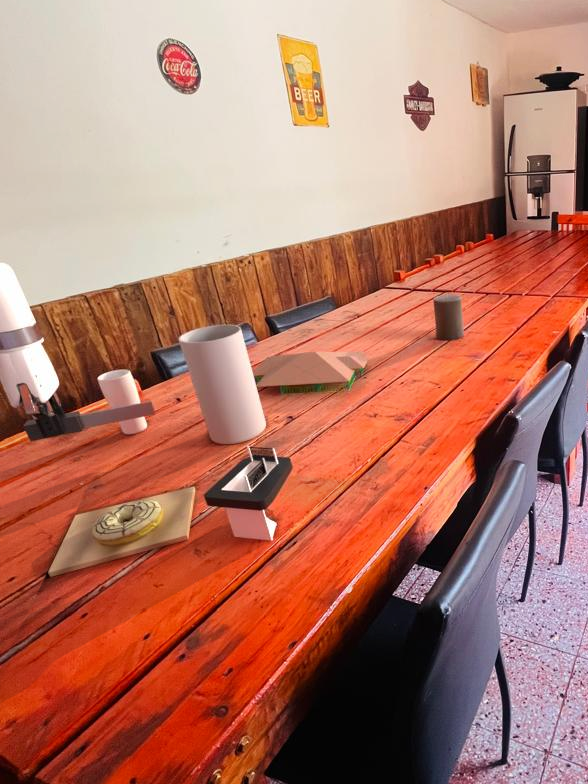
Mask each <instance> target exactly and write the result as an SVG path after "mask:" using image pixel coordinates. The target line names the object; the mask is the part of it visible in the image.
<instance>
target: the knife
mask: <svg viewBox="0 0 588 784" xmlns="http://www.w3.org/2000/svg"><path fill="white" fill-rule="evenodd" d="M156 414H157V413H156V410H155V407H154V405H153V402H152V400H149V401H143V402H141V403H138V404H133V405H128V406H123V407H117V408H112V409H111V408H109V409H108V408H107V409H102V410H96V411H93V412H87V413H82V414H81V412H80V411H79V410H77V411H72V412H67V413H65V414H61V415H58V417H59V419H60V422H61V424H62V426H63V428H64V430H65V433H64V434H63V435H62V436H64V435H71V434H74V433H80V432H83V430H84V429H90V428H93V427H99V426H104V425H109V424H115V423H118V422H120V421H125V420H130V419H135V418H140V417H145V418H146V417H148V416H154V415H156ZM22 427H23V430H24V431H25V433H26V436H27V437H28V440H29V441H30V442H36V441H40V440H44V439H45V440H46V438H44V437H43V435H42V433H41V431H40V429H39V427H38V425H37V423H36V421H35V420H34V419H29V420H26V422H25V423H24V424H23V426H22ZM60 436H61V435H58V436H57V437H60ZM55 437H56V436H53V437H52V438H55ZM50 438H51V437H48V438H47V439H50Z"/></svg>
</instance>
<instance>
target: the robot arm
mask: <svg viewBox="0 0 588 784" xmlns="http://www.w3.org/2000/svg"><path fill="white" fill-rule="evenodd" d="M44 341H45V339H44V337H43V335H42V332H41V330H40V327H39V326H38V324H37V322H36V319H35V317H34V314H33V312H32V310H31V308H30V305H29V303H28V301H27V299H26V296H25V294H24V291H23V289H22V287H21V284H20V282H19V280H18V277H17V276H16V273H15V272H14V270H13V268H12V267H11V266H10V265H9V264H7V263H5V262H1V261H0V383H1V385H2V387H3V390H4V392H5V394H6V397H7V399H8V401H9V403H10V405H11V407H12V408H15V409H18V408H21V406H23V407H24V411H25V413H26V414H27V415H28V416H32V420H35V421H36V423H37V425H38V427H39V429H40V431H41V433H42V435H43V437H44V438H45V439H49V438H48V437H50V438H54V437H53V436H55V437H59V436H58V435H60V436H64V435H63V434H64V433H65V430H64V428H63V426H62V424H61V422H60V419H59V417H58V415H61V414H66V413H65V411H64V409H63V407H62V404H61V400H60V399H59V397H58V393H57V390H58V388H59V387H60V381H59V377H58V374H57V373H56V370H55V368H54V366H53V364H52V361H51V359H50V357H49V356H48V354H47V352H46V350H45V348H44V346H43V345H42V343H43V342H44Z"/></svg>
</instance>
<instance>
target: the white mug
mask: <svg viewBox="0 0 588 784" xmlns="http://www.w3.org/2000/svg"><path fill="white" fill-rule="evenodd" d="M96 379H97V382H98V385H99V388H100V390H101V393H102V395H103V397H104V399H105V401H106V403H107V405H108V407H109V409H112V408H117V407H123V406H128V405H133V404H138V403H142V402H141V398H140V394H139V391H138V388H137V385H136V382H135V378H134V377H133V375H132V373H131V370H129V369H115V370H111V371H108V372H105V373H102V374H100V375H99V376H98V377H97V378H96ZM117 423H118V425H119V427H120V430H121V432H122V433H123V434H124V435H127V436H128V435H136V434H139V433H141V432H143V431H145V430H146V429H147V428H148V423H147V420H146V416H145V417H140V418H135V419H130V420H125V421H120V422H117Z"/></svg>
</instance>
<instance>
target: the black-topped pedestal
mask: <svg viewBox="0 0 588 784" xmlns="http://www.w3.org/2000/svg"><path fill="white" fill-rule="evenodd" d="M246 448H247V452H248V455H249V456H247V457H244V458H242V459H241V460H240V461H239V462H238V463H237V464H235V465H234V467H232V468H231V469H230V470H229V471H228V472H227V473H226V474H224V475H223V476H222V477H221V478H220V479H219V480H218V481H216V482H215V484H213V485H212V486H211V487H210V488H209V489H208V490H207V491H206V492H205V493H204V494H203V498H204V501H205V503H206V505H207V507H215V508H224V510H225V513H226V516H227V519H228V522H229V524H230V528H231V531H232V534H233V537H234V538H244V539H252V540H253V539H254V540H262V541H273V540H274V534H275V530H276V528H277V527H276V526H277V525H278V524H277V522H276V519H275V515H274V511H272V510H270V509H269V507H270V506H271V505H272V504H273V502H274V501H275V499H276V497H277V496H278V494H279V492H280V491H281V489H282V488H283V486H284V484H285V483H286V481H287V480H288V477H289V476H290V474H291V472H292V470H293V468H294V467H293V464H292V460H291V458H290V457H288V456H277V452H276V449H275V448H274V447H257V446H250V445H247V446H246ZM254 449H258V450H254ZM269 450H271V451H269Z"/></svg>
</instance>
